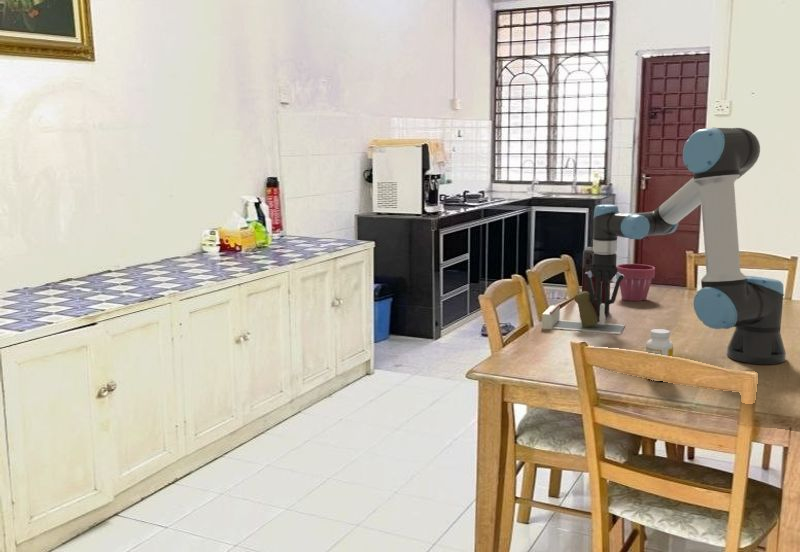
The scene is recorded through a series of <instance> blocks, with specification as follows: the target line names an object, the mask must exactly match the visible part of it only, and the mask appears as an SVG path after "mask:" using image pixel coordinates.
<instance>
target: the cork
mask: <svg viewBox="0 0 800 552" xmlns="http://www.w3.org/2000/svg"><path fill="white" fill-rule="evenodd" d="M573 299H574V301H575V303H576V304H577V308H578V311H579V316H580V322H581V323H582V327H588V326H592V325H595V324H597V323H599V321H600V317H598V316H597V314H596V312H595V310H594V307H593V305H592V303H591V301H590V294H589V293H588V292H587V291H583V292H582V291H580V292H578V293H575V294H574V296H573Z"/></svg>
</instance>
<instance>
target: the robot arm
mask: <svg viewBox="0 0 800 552" xmlns="http://www.w3.org/2000/svg"><path fill="white" fill-rule="evenodd" d="M760 153H761V145H760V141H759V139H758V137H757V136H756V135H755V134H754V133H753V132H752V131H751V130H749V129H746V128H742V127H709V128H702V129H698V130H696V131H695V132H693V133H692V134H691V135H690V136H689V138H688V139H687V140H686V141H685V143H684V145H683V149H682V161H683V164H684V166H685V167H687V170H688V171H690V172H691V173H692V175H693V177H692V178H691V179H690V180H688V181H687V182H686V183H684V185H683V186H682V187H680V189H678V190H677V191H676V192H674V194H672V195H671V196H670V197H668V199H666V200H665V201H664V202H663V203H661V205H659V206H658V207H657V208H655V210H653V211H647V212H636V213H635V212H634V213H627V212H619V206H618V205H617V204H597V205H596V206H595V207H594V210H593V211H594V212H593V218H592V219H593V233H592V234H593V237H592V238H593V246H592V247H593V251H594V252H595V253H593V261H592V268H591V270H590V271H589V272H586V273H585V274H584V277H585V279H586V280H587V284H588V289H589V294H590V298H591V302H594V303H596V304H597V311H596V312H597V314H600V317H599V320H600V321H599V324H600V325H604V324H606V317H605V314H607V315H608V316H609V314H608V313H610V307H609V304H610V305H612V304H613V305H614V303H615V302H616V298H617V295H618V292H619V289H620V283H621V280H622V279H623V278H624V274H621V273H619V272H618V269H617V267H616V266H617V256H618V255H617V250H618V237H619V238H627V239H629V240H643V238H645V237H654V236H667V235H668V234H669V235H670V234H672V233H674V232H676V230H677V228H678V227H679V224H680V223H679V222H680V221H682V220H683V219H684V218H686V217H687V216H688V215H689V214H691V212H693V211H694V210H695V209H696V208H697V207H699V206H700V205H701V214H702V215H701V217H702V219H701V220H702V229H703V231H702V232H703V244H704V258H705V271H706V272H705V275H704V276H703V277H702V278H701V279H700V283H701V289H699V290H698V291H697V292H696V294H695V295H694V297H693V309H694V312H695V315H696V317H697V318H698V320H699V321H700V322H702V323H703V325H704V326H706V327H708V328H710V329H713V330H727V329H731V328H734V331H733V333H732V335H731V339H730V340H729V342H728V346H727V349H726V350H727V351H726V356H727V357H728V358H730V359H731V360H734V361H737V362H741V363H746V364H747V363H748V364H754V365H766V366H767V365H778V364H783V363H784V362H785V361H786V355H787V354H786V348H785V345H784V341H783V338H782V334H781V329H782V317H783V316H782V314H783V303H784V302H783V301H784V295H785V294H784V283H783V282H782V281H781V280H778V279H775V278H769V277H762V276H754V275H753V276H752V275H745V274H744V273H742V271H741V264H740V263H741V261H740V259H741V258H740V249H739V247H740V246H739V233H738V218H737V217H738V216H737V205H736V204H737V203H736V190H735V182H736V181H737V180H738V179H740V178H741V177H743V175H745V174H746V173H747V172H748V171H750V170H751V169H752V168H753V167H754V165H755V164H756V163H757V162H758V160H759V157H760ZM592 274H593V275H594V277H595V278H596V280H597V299H596V297H595V292H594V288H593V283H592V279H591V277H592ZM614 278H615V279H616V281H615V284H614V287H613V291H612V295H611V280H612V279H614ZM602 281H605V303H604V304H603V303H601V302H602V301H601V299H602Z"/></svg>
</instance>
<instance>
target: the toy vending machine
mask: <svg viewBox="0 0 800 552" xmlns="http://www.w3.org/2000/svg"><path fill="white" fill-rule="evenodd" d="M590 243H591V246H587V247H586V248H585V249H584V250H583V251H582V267H581V269H582V271H581V275H582V277H581V292H583V291H587V292H588V293H589V289H588V284H587V280H586V279H585V277H584V274H585V273H586V272H589V271H590V270H591V268H592V261H593V253H595V252H594V251H593V237H592V239H591V241H590ZM591 279H592V283H593V288H594V292H595V297H596V299H597V280H596V278H595V277H594V275H593V274H592V277H591ZM590 301H591V298H590ZM601 301H602V302H601V303H603V304H604V303H605V281H602V299H601ZM591 303H592V305H593V307H594V310H595V312H596V311H597V304H596V303H594V302H591ZM610 305H611V304H609V308H611V307H610ZM609 313H610V312H609ZM609 313H608V315H607V314H605V318H608V317H609ZM596 314H597V312H596ZM597 316H598V318H600V314H597Z"/></svg>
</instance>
